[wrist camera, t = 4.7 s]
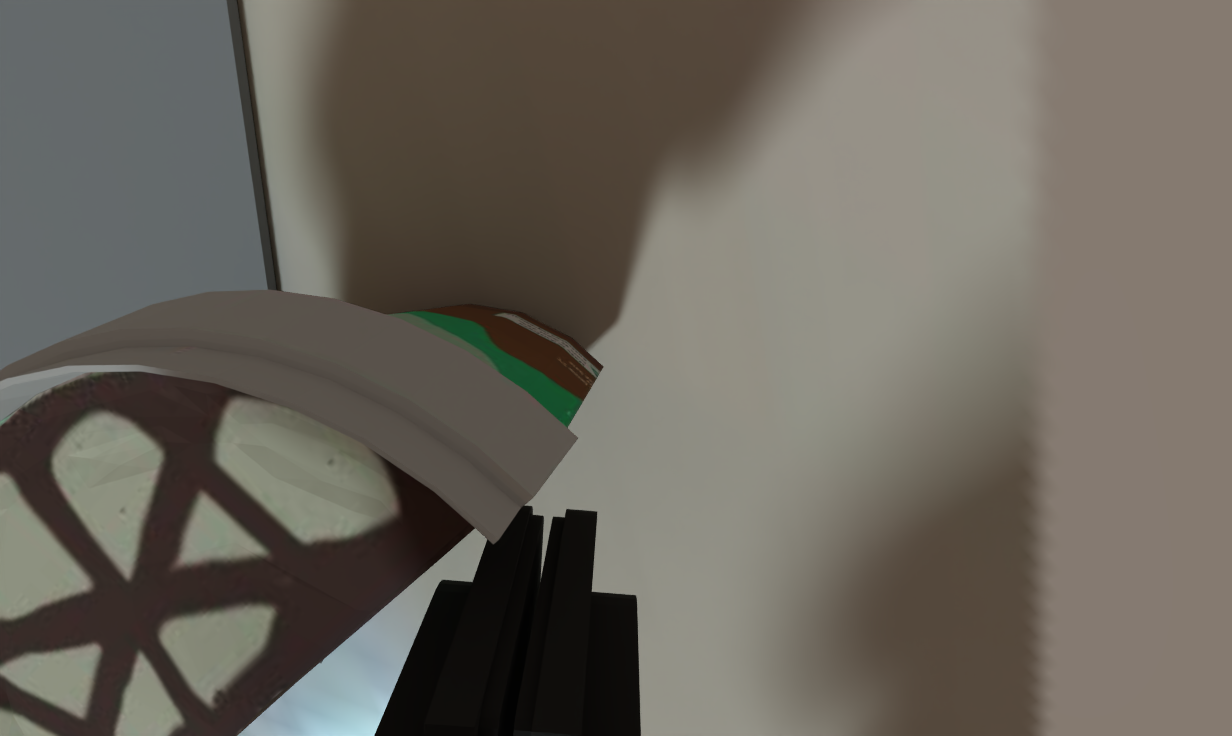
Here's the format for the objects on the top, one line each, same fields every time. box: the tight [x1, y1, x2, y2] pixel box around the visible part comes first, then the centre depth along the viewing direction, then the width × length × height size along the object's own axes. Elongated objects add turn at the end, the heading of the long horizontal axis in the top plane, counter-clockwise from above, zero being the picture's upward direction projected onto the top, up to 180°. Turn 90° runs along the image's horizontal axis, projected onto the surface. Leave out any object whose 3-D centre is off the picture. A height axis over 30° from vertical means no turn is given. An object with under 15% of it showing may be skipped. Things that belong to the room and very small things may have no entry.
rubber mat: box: [0, 0, 323, 663], centre depth 17 cm, size 12×22×1 cm, turn 175°
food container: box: [0, 290, 603, 736], centre depth 12 cm, size 12×6×10 cm, turn 134°
